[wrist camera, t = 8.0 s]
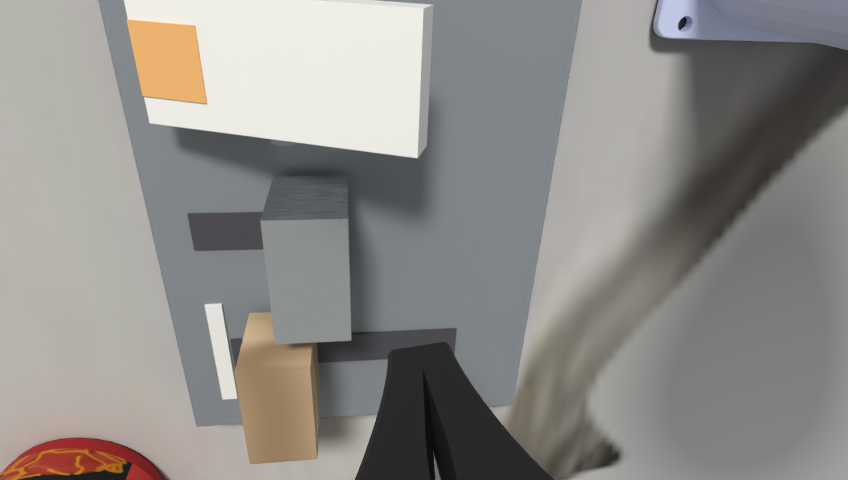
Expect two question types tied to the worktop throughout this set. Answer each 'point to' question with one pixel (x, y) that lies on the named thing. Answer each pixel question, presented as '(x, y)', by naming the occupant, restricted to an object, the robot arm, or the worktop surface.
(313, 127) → the block
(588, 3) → the worktop surface
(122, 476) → the canned food
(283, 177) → the steel slider
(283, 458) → the oak slider
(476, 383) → the console
